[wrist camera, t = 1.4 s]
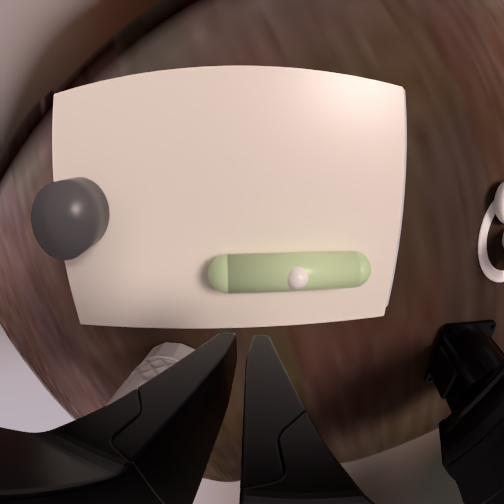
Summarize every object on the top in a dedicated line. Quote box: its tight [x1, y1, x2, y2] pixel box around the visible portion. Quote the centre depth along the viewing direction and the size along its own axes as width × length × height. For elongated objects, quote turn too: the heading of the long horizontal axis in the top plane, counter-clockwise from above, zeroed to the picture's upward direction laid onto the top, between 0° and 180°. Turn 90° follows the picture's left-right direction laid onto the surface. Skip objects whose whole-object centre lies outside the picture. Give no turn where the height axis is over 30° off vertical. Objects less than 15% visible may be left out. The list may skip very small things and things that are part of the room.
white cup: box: [104, 342, 196, 407], centre depth 20 cm, size 8×8×10 cm
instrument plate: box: [31, 66, 405, 328], centre depth 12 cm, size 18×13×3 cm
